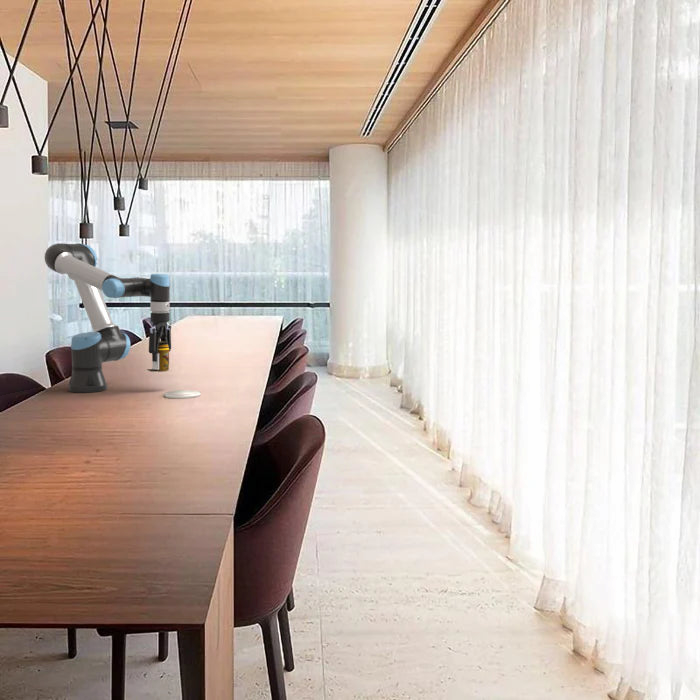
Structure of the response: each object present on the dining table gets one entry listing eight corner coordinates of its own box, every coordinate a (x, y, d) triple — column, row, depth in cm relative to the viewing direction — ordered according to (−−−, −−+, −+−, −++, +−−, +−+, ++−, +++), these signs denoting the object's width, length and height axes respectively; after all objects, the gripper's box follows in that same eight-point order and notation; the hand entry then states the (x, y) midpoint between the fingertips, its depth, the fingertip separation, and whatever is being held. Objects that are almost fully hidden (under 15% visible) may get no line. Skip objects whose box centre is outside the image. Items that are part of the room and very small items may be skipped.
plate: (157, 397, 305) (157, 394, 305) (175, 391, 319) (175, 388, 319) (189, 399, 301) (189, 396, 301) (206, 393, 314) (206, 390, 314)
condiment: (172, 371, 320) (172, 342, 318) (152, 372, 315) (152, 343, 314) (166, 368, 326) (166, 340, 324) (146, 370, 321) (146, 341, 320)
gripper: (155, 314, 308) (155, 372, 311) (180, 311, 326) (180, 365, 329) (138, 313, 310) (139, 370, 313) (164, 310, 328) (164, 364, 331)
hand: (160, 368), depth 321 cm, fingers closed on condiment, 6 cm apart
